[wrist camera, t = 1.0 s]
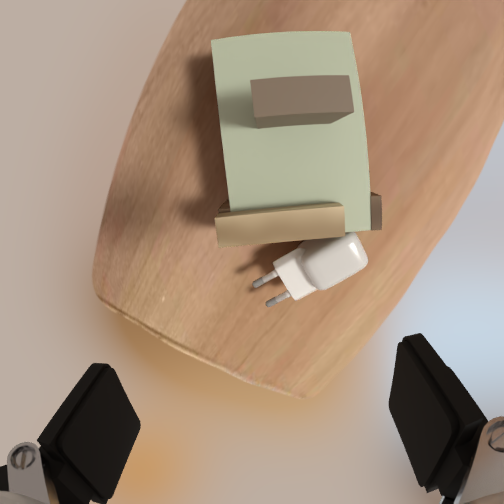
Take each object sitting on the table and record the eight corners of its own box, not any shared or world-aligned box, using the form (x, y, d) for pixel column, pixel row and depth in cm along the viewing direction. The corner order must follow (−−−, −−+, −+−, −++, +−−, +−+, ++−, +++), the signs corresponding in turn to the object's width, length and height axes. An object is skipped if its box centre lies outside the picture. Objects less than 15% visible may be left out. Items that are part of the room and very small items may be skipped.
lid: (212, 44, 22) (192, 5, 14) (347, 35, 21) (374, -3, 13) (235, 239, 27) (223, 272, 19) (367, 227, 26) (403, 254, 18)
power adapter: (271, 299, 34) (272, 326, 29) (248, 264, 33) (245, 286, 27) (358, 250, 32) (375, 270, 26) (339, 213, 31) (354, 225, 25)
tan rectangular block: (218, 213, 25) (214, 218, 23) (338, 202, 24) (344, 206, 22) (222, 241, 26) (218, 248, 24) (339, 230, 25) (345, 236, 23)
